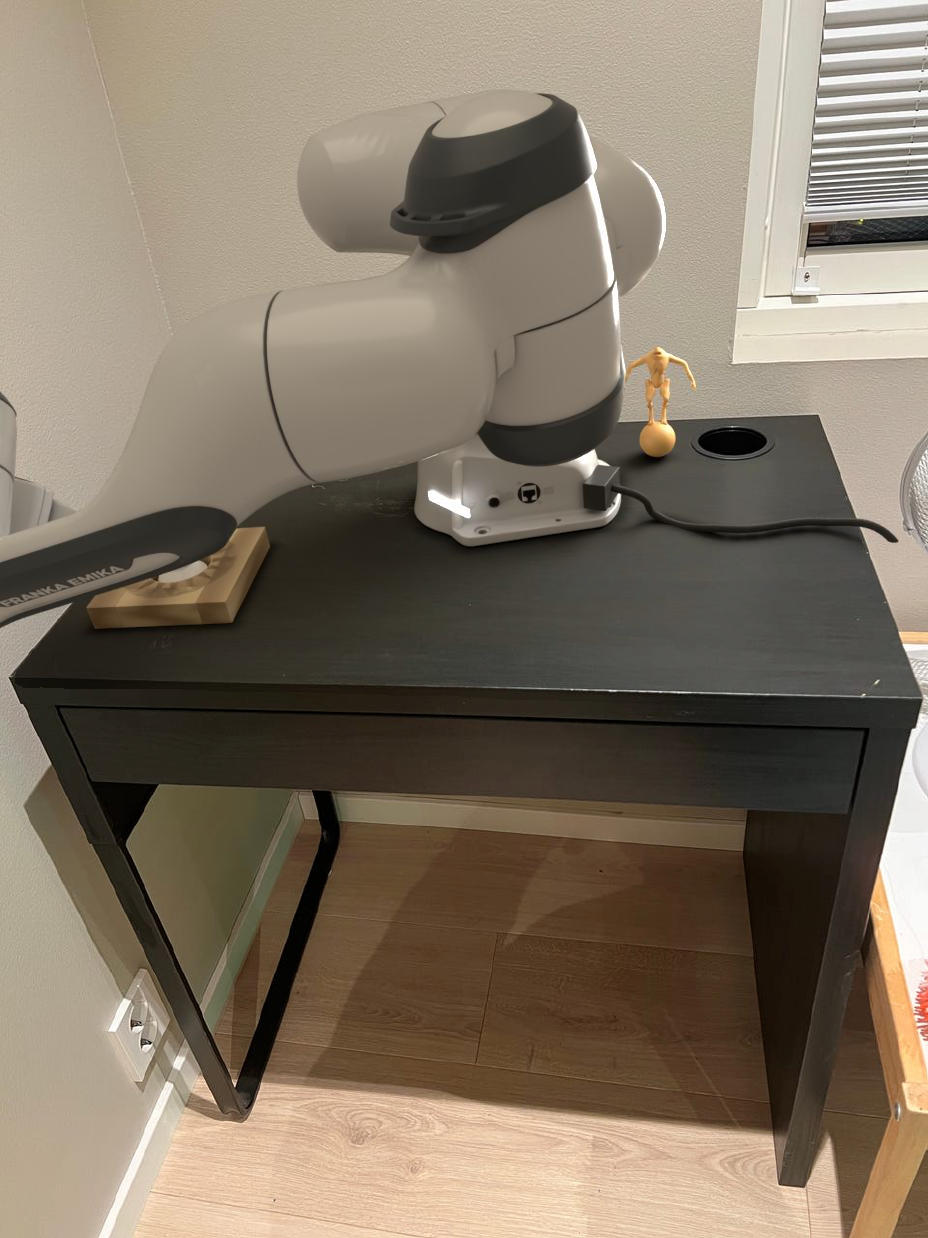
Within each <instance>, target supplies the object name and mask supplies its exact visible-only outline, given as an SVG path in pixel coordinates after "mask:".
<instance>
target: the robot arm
mask: <svg viewBox="0 0 928 1238" xmlns="http://www.w3.org/2000/svg"><path fill="white" fill-rule="evenodd" d="M298 161H299V162H298V166H297V172H296V191H297V197H298V201H299V205H300V208H301V212H302V213H303V216H304V218H305V220H306V222H307V223H308V225H309V227H310V229H311V230H312V231H313V232H314V234H315V235H316V237H317V238H319V239H320V241H322V242H323V243H324V244H325V245H326V246H327V247H329V248H330V249H331V250H333V251H335V252H336V253H350V254H352V253H353V254H354V253H359V254H361V253H362V254H363V253H365V254H366V253H367V254H368V253H371V254H392V255H399V256H400V255H401V256H408V258H406V260H405V261H403V262H402V263H401V264H400V265H398V266H397V267H395V268H394V269H392V270H390V271H388V272H386V273H383V274H381V275H377V276H372V277H367V278H361V279H354V280H345V281H338V282H337V281H336V282H328V283H327V282H326V283H319V284H310V285H305V286H298V287H294V288H288V289H281V290H276V291H271V292H265V293H259V294H254V295H249V296H245V297H240V298H236V299H232V300H229V301H226V302H224V303H220V304H218V305H216V306H213V307H211V308H209V309H207V310H205V311H203V312H201V313H199V314H198V315H196V316H194V317H193V318H190V319H189V320H188V321H187V322H185V323H184V324H182V326H181V327H180V328H179V329H178V330H177V331H176V332H175V333H174V335H173V336H172V337H171V339H169V341H168V342H167V344H166V345H165V347H164V348H163V350H162V351H161V353H160V355H159V357H158V359H157V361H155V364H154V366H153V368H152V371H151V373H150V376H149V378H148V380H147V383H146V387H145V390H144V394H143V397H142V400H141V403H140V405H139V409H138V412H137V415H136V417H135V420H134V422H133V425H132V428H131V431H130V433H129V436H128V437H127V438H128V439H127V441H126V443H125V445H124V447H123V450H122V452H121V454H120V456H119V458H118V460H117V461H116V464H115V466H114V467H113V470H112V471H111V473H110V475H109V477H108V478H107V479H106V482H104V484H103V486H102V487H101V488H100V490H99V491H98V492H97V494H96V495H94V497H92V499H91V500H90V501H89V502H87V504H85V505H84V506H83V507H82V508H77V507H76V506H74V505H70V504H68V503H65V502H63V501H60V500H59V499H54V496H55V491H54V490H53V489H51V488H49V487H47V486H45V485H42V484H40V483H36V482H34V481H32V480H28V479H25V478H21V477H17V476H16V462H17V441H18V440H17V439H18V428H17V414H18V413H17V411H16V409H15V408H14V406H13V404H12V403H11V402H10V401H9V399H8V398H7V397H6V395H4V393H2V391H0V629H2V628H3V627H6V626H8V625H10V624H13V623H14V622H17V621H19V620H23V619H26V618H28V617H31V616H34V615H37V614H42V613H44V612H47V611H50V610H54V609H57V608H60V607H64V606H67V605H70V604H73V603H77V602H79V601H83V600H86V599H89V598H92V597H93V598H94V597H95V596H96V595H99V594H102V593H106V592H109V591H112V590H115V589H119V588H122V587H125V586H128V585H131V584H134V583H137V582H141V581H144V580H147V579H150V578H153V577H156V576H159V575H162V574H165V573H168V572H170V571H173V570H176V569H179V568H181V567H184V566H187V565H189V564H192V563H194V562H197V561H199V560H202V559H204V558H206V557H208V556H210V555H212V554H214V553H216V552H218V551H220V550H221V549H222V548H224V547H225V545H226V544H227V542H228V541H229V539H230V538H231V536H232V535H233V533H234V531H235V530H236V528H238V526H240V525H241V524H242V523H243V522H244V521H245V520H246V519H248V518H249V517H250V516H252V515H253V514H254V513H255V512H256V511H258V510H259V509H261V508H263V507H265V506H266V505H267V504H269V503H271V502H272V501H274V500H275V499H277V498H279V497H281V496H284V495H285V494H287V493H290V492H293V491H295V490H297V489H301V488H303V487H308V486H311V485H316V484H323V483H330V482H331V483H332V482H336V481H343V480H348V479H349V480H350V479H354V478H358V477H363V476H364V477H365V476H367V475H373V474H378V473H381V472H386V471H389V470H392V469H397V468H400V467H404V466H407V465H411V464H413V463H417V482H416V493H415V499H414V500H415V501H414V507H413V511H414V515H415V517H416V519H418V521H419V522H420V523H422V524H423V525H424V526H425V527H428V528H429V529H432V530H435V531H437V532H440V533H443V534H447V535H449V536H451V537H452V538H453V539H454V540H455V541H456V542H458V543H459V544H461V545H462V546H465V547H477V546H483V545H489V544H496V543H497V544H498V543H503V542H511V541H515V540H516V541H517V540H522V539H523V540H524V539H528V538H529V539H530V538H535V537H536V538H537V537H542V536H549V535H557V534H562V533H567V532H568V533H569V532H574V531H580V530H581V531H582V530H587V529H594V528H601V527H604V526H607V525H608V524H610V522H611V521H612V520H613V519H614V518H615V517H616V516H617V514H618V512H619V510H620V507H621V503H622V495H623V496H627V497H630V498H633V499H635V500H637V501H639V502H640V503H642V504H643V506H644V509H645V511H646V512H647V514H648V515H649V516H650V517H651V518H653V519H655V520H656V521H658V522H660V523H664V524H667V525H672V526H676V527H679V528H683V529H686V530H689V531H695V532H702V533H721V534H722V533H723V534H724V533H725V534H752V533H753V534H754V533H762V532H770V531H775V530H781V529H787V528H794V527H807V526H809V527H810V526H812V527H813V526H815V527H816V526H817V527H818V526H819V527H856V528H857V527H858V528H862V529H863V528H864V529H868V530H870V531H873V532H875V533H877V534H879V535H880V536H881V537H883V538H884V539H885V540H886V541H887V542H889V543H891V544H897V543H899V539H898V538H897V537H896V535H895V534H894V533H892V532H891V530H889V529H888V528H886V527H885V526H883V525H881V524H880V523H877V522H875V521H872V520H869V519H865V518H856V517H798V518H789V519H784V520H783V519H782V520H777V521H771V522H765V523H755V524H718V523H717V524H713V523H711V524H710V523H693V522H687V521H686V522H685V521H680V520H676V519H674V518H673V517H672V518H671V517H669V516H667V515H665V514H663V513H661V512H660V511H658V510H656V509H655V508H654V506H653V503H652V500H651V499H650V498H649V497H648V496H647V495H646V494H643V492H641V491H639V490H636V489H633V488H630V487H626V486H622V485H621V483H620V482H621V481H620V477H621V475H620V466H615V465H614V466H612V465H610V464H608V463H607V462H606V461H603V460H602V459H599V458H598V455H597V452H596V448H598V447H599V446H600V445H601V444H602V443H603V442H604V441H606V439H608V438H609V437H610V436H611V434H612V433H614V431H615V429H616V428H617V426H618V424H619V421H620V418H621V414H622V408H623V403H624V398H625V397H624V396H625V390H624V388H625V389H626V387H625V386H626V383H625V375H626V372H627V371H626V365H625V360H624V352H623V345H622V344H621V340H622V339H621V337H622V336H621V317H620V316H621V315H620V302H619V299H621V298H622V297H625V296H626V295H628V294H629V293H630V292H632V291H633V290H634V289H636V288H637V287H638V286H639V285H640V284H641V283H642V282H643V281H644V280H645V279H646V278H647V276H648V275H649V273H650V272H651V270H652V269H653V268H654V266H655V264H656V262H657V260H658V258H659V255H660V253H661V251H662V247H663V243H664V239H665V234H666V211H665V210H666V209H665V205H664V204H665V203H664V199H663V198H662V195H661V192H660V190H659V188H658V186H657V183H656V182H655V181H654V179H653V178H652V177H651V175H650V174H649V173H648V172H647V171H646V170H645V169H644V168H643V167H642V166H640V165H639V164H638V163H637V162H635V161H634V160H633V159H632V158H630V157H629V156H627V155H625V154H624V153H623V152H621V151H619V150H618V149H615V147H613V146H611V145H609V144H607V143H605V142H603V141H601V140H599V139H597V138H594V137H592V136H589V134H588V131H587V128H586V126H585V123H584V121H583V119H582V117H581V115H580V113H579V111H578V109H577V108H576V107H575V105H572V104H570V103H569V102H567V101H565V100H564V99H562V98H560V97H559V96H556V95H555V94H553V93H546V92H542V91H536V90H524V89H505V88H504V89H503V88H494V89H489V90H483V91H478V92H473V93H468V94H461V95H456V96H450V97H446V98H440V99H435V100H428V101H425V102H419V103H415V104H409V105H404V106H398V107H392V108H387V109H383V110H376V111H370V112H365V113H361V114H358V115H356V116H353V117H351V118H348V119H346V120H343V121H341V122H338V123H336V124H334V125H333V124H332V125H331V126H329V127H327V128H324V129H322V130H320V131H318V132H316V133H314V134H312V135H310V136H309V138H308V139H307V142H306V143H305V145H304V147H303V149H302V152H301V154H300V157H299V160H298Z"/></svg>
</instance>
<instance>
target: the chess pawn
mask: <svg viewBox="0 0 928 1238" xmlns="http://www.w3.org/2000/svg"><path fill="white" fill-rule="evenodd" d="M206 568H207V565H206V564H205V563H204V562H202V561H197V562H194V563H192V564H189V565H187V566H184V567H181V568H179V569H176V570H173V571H170V572H168V573H165V574H162V575H159V578H158V581H159V582H162V583H167V582H177V581H181V580H185V579H189V578H191V577H193V576H195V575H197V574H199V573H201V572H202V571H203V570H205V569H206Z"/></svg>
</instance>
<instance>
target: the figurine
mask: <svg viewBox="0 0 928 1238" xmlns="http://www.w3.org/2000/svg"><path fill="white" fill-rule="evenodd" d="M669 363H672V364H675V365H678V366H683V369H684V372H685V373H686V376H687V378H688V379H689V381H691V383H690V387H692V391H693V392H695V391H697V386H696V381H695V379H694V377H693V374H692V372H691V371H690V368H689V365H688V363H687V362H686V361H685V360H684V359H681V358H679V357H676V356H674V355H673V354H671V353H668V352H666V351H665V350H664V349H663V348H661V347H659V346H656V347H654V348H653V349H651V351H650V352H649V353H648V354H645V355H642V357H641V358H639V359H637V360H635V361H633V362H632V363H630V364H629V365H628V366H627V369H626V371H625V372H626V375H625V384H626V383H627V382H628V379H629V377H630V375H631V373H632V370H633V369H635V368H638V367H640V366H643V365H645V364H646V366H647V369H648V371H649V374H650V378H651V379H646V380H645V381H644V387H645V401H646V403H647V404H646V408H647V409H648V422H647V425H645V426H644V427H643V429H642V430H641V432H640V435H639V445H640V448H641V449H642V451H643V452H644V453H645V454H646V455H648V456H650V457H653V458H661V457H663V456H664V457H665V456H666V455H667V454H669V453H670V452H671V451H672V450H673V448H674V447H675V443H676V433H675V431H674V429H673V427H672V426H671V425H669V423H668V421H667V408H668V406H669V404H668V402H669V399H670V384H671V380H670V378H665V377H664V376H665V373H666V370H667V368H668V364H669ZM664 378H665V379H664ZM656 389H659V395H660V397H662V400H663V401H662V403H661V415H660V417H661V418H660V421H659V420H657V421H655V420H654V403H653V402H652V401H653V398H654V397H655V396H656ZM625 390H626V387H625V388H624V391H625Z"/></svg>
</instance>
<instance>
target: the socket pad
mask: <svg viewBox="0 0 928 1238" xmlns="http://www.w3.org/2000/svg"><path fill="white" fill-rule="evenodd" d="M270 548H271V544H270V541H269V537H268V533H267V529H266V527H265V526H253V527H239V528H238V527H237V528H236V530H235V531H234V533H233V535H232V536H231V538H230V539H229V541H228V542H227V544H226V545H225V547H224V548H222V549H221V550H220V551H218V552H216V553H214V554H212V555H210V556H208V557H206V558H204V559H202V560H199V561H202V562H204V563H205V564H206V565H207V568H206V569H205V570H203V571H202V572H201V573H199V574H197V575H195V576H193V577H191V578H189V579H185V580H181V581H177V582H167V583H162V582H159V581H158V578H159V576H156V577H153V578H150V579H147V580H144V581H141V582H137V583H134V584H131V585H128V586H125V587H122V588H119V589H115V590H112V591H109V592H106V593H102V594H99V595H96V596H93V598H92V599H91V601H90V602H89V603H88V605H86V608H85V610H86V612H87V615H88V616H89V618H90V621H91V623H92V625H93V628H94V629H95V630H99V629H100V630H101V629H122V628H124V629H125V628H146V627H149V628H150V627H165V626H166V627H168V626H171V627H172V626H192V625H193V626H194V625H213V624H214V625H217V624H232V623H233V622H234V619H235V618H236V615H237V614H238V611H239V610H240V608H241V606H242V604H243V602H244V600H245V598H246V596H247V595H248V593H249V590H250V589H251V586H252V584H253V583H254V580H255V578H256V576H257V574H258V572H259V570H260V568H261V565H262V564H263V562H264V560H265V558H266V556H267V554H268V552H269V550H270Z"/></svg>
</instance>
